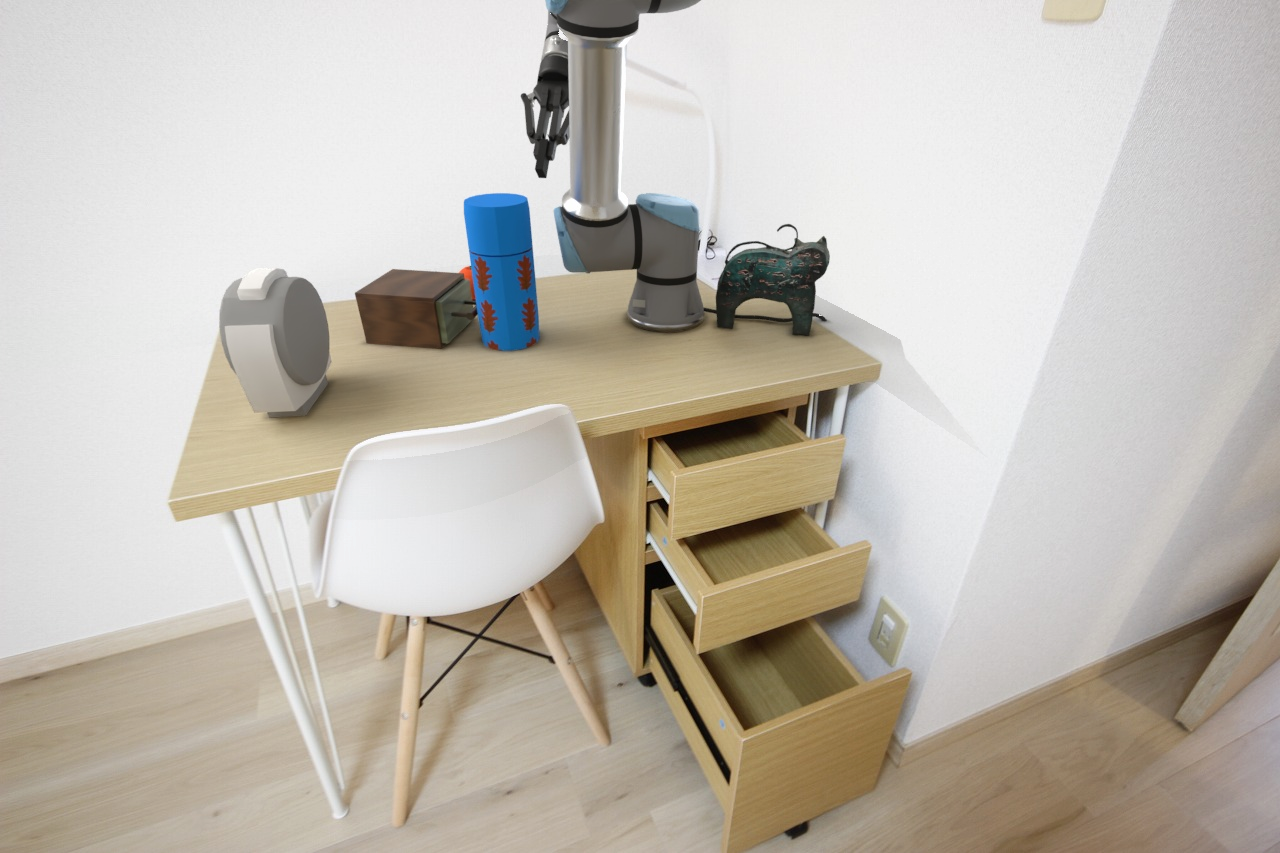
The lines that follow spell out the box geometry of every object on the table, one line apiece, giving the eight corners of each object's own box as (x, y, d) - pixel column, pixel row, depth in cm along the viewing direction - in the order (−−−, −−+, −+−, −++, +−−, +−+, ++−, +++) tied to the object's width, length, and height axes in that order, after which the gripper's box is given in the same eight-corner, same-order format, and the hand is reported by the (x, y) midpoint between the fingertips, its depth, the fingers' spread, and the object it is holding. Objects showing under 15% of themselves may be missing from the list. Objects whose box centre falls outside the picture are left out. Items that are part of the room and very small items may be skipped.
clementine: (489, 290, 142) (485, 258, 139) (500, 299, 137) (496, 267, 134) (454, 296, 139) (449, 264, 135) (463, 306, 134) (459, 273, 130)
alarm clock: (293, 374, 107) (255, 253, 97) (346, 372, 108) (314, 252, 97) (246, 431, 92) (196, 295, 82) (308, 428, 93) (265, 293, 82)
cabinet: (470, 320, 127) (464, 273, 122) (441, 349, 116) (432, 298, 111) (402, 315, 130) (392, 268, 125) (366, 343, 118) (354, 292, 113)
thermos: (513, 356, 114) (497, 210, 101) (469, 342, 118) (448, 202, 105) (552, 335, 122) (541, 197, 108) (508, 323, 126) (494, 190, 113)
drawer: (495, 319, 126) (490, 280, 122) (470, 345, 115) (464, 303, 111) (410, 313, 128) (403, 275, 124) (378, 338, 118) (369, 297, 114)
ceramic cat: (818, 328, 125) (834, 223, 114) (818, 341, 119) (835, 232, 109) (716, 319, 129) (723, 216, 118) (711, 331, 123) (718, 225, 113)
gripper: (522, 52, 124) (501, 159, 119) (588, 53, 122) (569, 162, 117) (532, 82, 131) (513, 184, 126) (595, 83, 129) (578, 186, 124)
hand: (540, 173), depth 121 cm, fingers closed
